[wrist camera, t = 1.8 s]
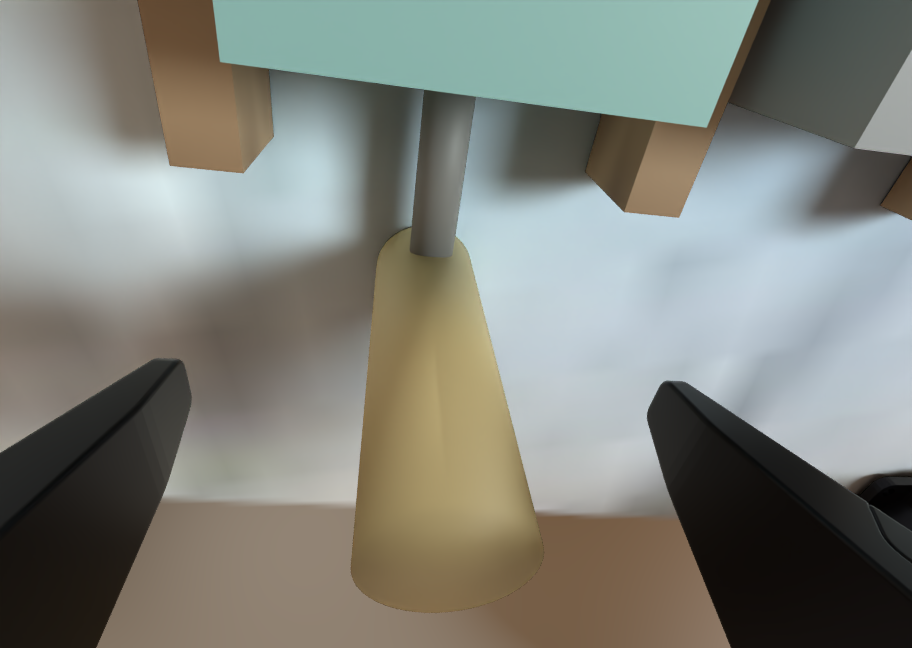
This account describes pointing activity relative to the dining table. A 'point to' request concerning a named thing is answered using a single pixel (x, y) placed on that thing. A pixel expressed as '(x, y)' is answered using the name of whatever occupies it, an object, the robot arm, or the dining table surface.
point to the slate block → (834, 71)
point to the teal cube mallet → (447, 260)
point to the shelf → (251, 127)
